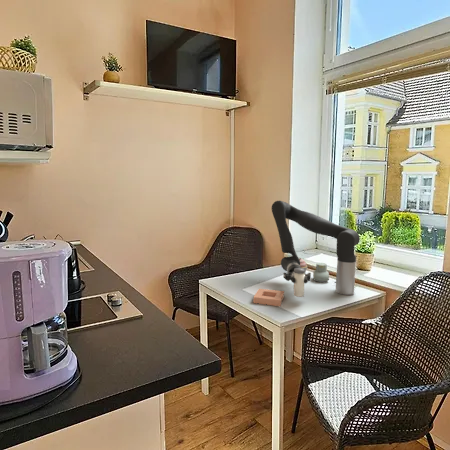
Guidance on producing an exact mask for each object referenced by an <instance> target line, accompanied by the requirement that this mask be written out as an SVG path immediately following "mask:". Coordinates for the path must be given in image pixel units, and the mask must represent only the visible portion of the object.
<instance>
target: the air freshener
mask: <svg viewBox="0 0 450 450" xmlns="http://www.w3.org/2000/svg"><path fill="white" fill-rule="evenodd" d="M327 268H328V265H327V263H326V262H317V263H316V265H315V270H313V274H312V275H313V276H312V278H313V281H316V282H319V283H324V282H328V281H329V280H330V273H329V271H328V270H327Z"/></svg>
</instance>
